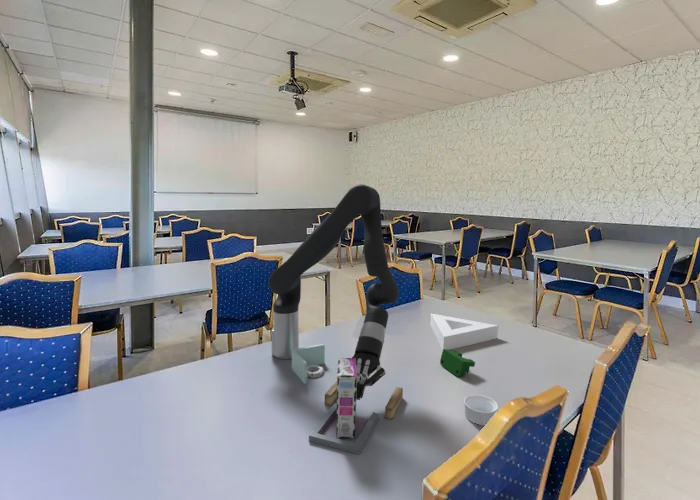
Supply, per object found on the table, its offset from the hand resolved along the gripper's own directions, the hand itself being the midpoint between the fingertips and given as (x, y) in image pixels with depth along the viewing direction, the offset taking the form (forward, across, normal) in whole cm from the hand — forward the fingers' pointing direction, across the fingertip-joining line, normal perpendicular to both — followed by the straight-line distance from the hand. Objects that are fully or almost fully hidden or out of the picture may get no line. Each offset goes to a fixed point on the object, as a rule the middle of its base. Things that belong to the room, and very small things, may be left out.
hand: (356, 398), depth 104 cm
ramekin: (-4, +32, +11) cm, 34 cm away
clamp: (-24, +23, +30) cm, 45 cm away
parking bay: (+8, 0, -2) cm, 8 cm away
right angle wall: (-9, -22, +16) cm, 29 cm away
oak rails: (-2, 0, +8) cm, 8 cm away
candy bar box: (+8, 0, -1) cm, 8 cm away
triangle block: (-43, +19, +50) cm, 69 cm away
